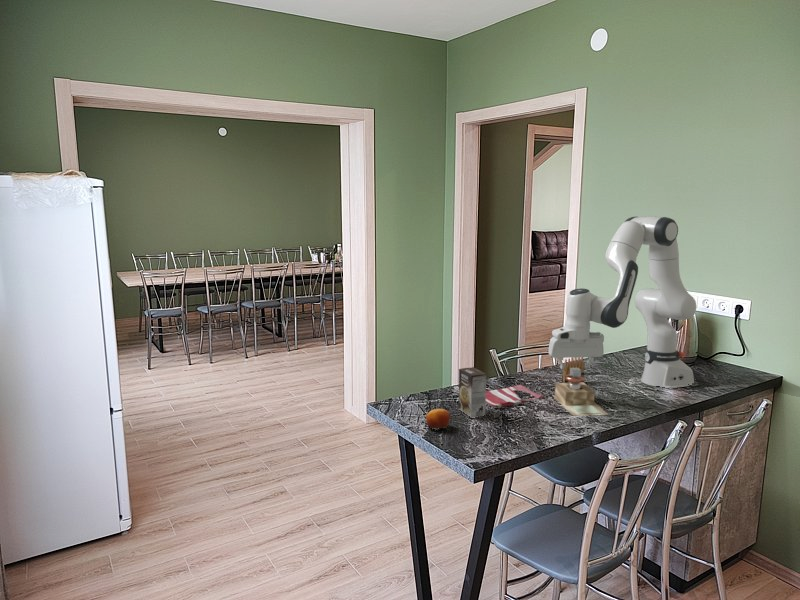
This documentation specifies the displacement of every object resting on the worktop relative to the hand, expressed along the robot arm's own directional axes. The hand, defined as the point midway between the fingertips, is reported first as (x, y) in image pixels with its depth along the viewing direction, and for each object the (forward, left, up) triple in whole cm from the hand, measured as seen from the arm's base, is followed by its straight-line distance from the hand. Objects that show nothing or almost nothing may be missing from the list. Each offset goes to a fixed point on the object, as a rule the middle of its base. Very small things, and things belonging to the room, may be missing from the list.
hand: (575, 368), depth 224 cm
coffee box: (+41, +8, -14) cm, 44 cm away
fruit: (+55, +20, -14) cm, 60 cm away
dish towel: (+24, -7, -14) cm, 29 cm away
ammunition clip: (-7, -20, -14) cm, 25 cm away
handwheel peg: (0, 0, -12) cm, 12 cm away
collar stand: (0, +5, -13) cm, 14 cm away
